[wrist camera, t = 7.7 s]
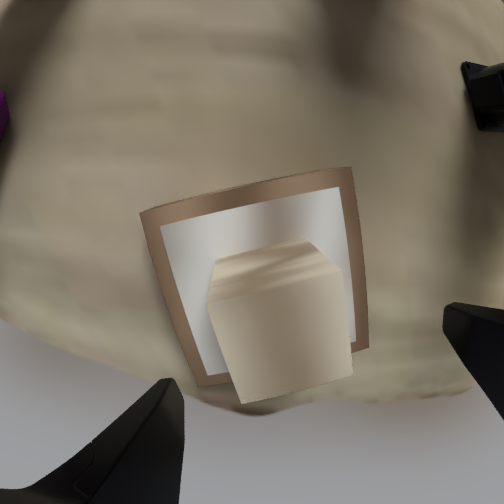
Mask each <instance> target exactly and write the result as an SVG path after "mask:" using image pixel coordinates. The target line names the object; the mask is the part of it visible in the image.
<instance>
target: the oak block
mask: <svg viewBox="0 0 504 504" xmlns="http://www.w3.org/2000/svg"><path fill="white" fill-rule="evenodd" d="M206 307H207V310H208V313H209V316H210V319H211V322H212V325H213V328H214V331H215V334H216V337H217V340H218V342H219V345H220V348H221V351H222V354H223V356H224V359H225V362H226V365H227V367H228V370H229V373H230V375H231V378H232V381H233V383H234V386H235V389H236V391H237V394H238V396H239V399H240V401H241V404H245V403H250V402H255V401H259V400H264V399H268V398H273V397H277V396H281V395H285V394H289V393H293V392H297V391H301V390H305V389H308V388H312V387H315V386H319V385H322V384H326V383H329V382H332V381H335V380H338V379H342V378H345V377H348V376H351V375H353V370H352V356H351V344H350V334H349V324H348V315H347V306H346V298H345V290H344V283H343V276H342V270H341V269H340V268H338V267H337V266H336V265H335V264H334V263H333V262H332V261H331V260H330V259H328V258H327V257H326V256H325V255H324V254H323V253H322V252H321V251H319V250H318V249H317V248H316V247H315V246H314V245H313V244H311V243H310V242H309V241H308V240H307V239H306V238H305V237H303V238H299V239H295V240H291V241H287V242H283V243H279V244H275V245H271V246H267V247H263V248H259V249H255V250H251V251H247V252H243V253H239V254H235V255H231V256H227V257H223V258H219V259H215V264H214V268H213V273H212V278H211V282H210V287H209V292H208V297H207V302H206Z"/></svg>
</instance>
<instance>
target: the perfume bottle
mask: <svg viewBox="0 0 504 504" xmlns="http://www.w3.org/2000/svg"><path fill="white" fill-rule="evenodd" d="M8 119H9V111H8V106H7V101H6V96H5V94H4V93H2V92H0V141H1V138H2V135H3V132H4V130H5V127H6V124H7V122H8Z"/></svg>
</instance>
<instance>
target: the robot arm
mask: <svg viewBox="0 0 504 504" xmlns="http://www.w3.org/2000/svg"><path fill="white" fill-rule="evenodd" d="M462 69H463V72H464V75H465V78H466V82H467V85H468V89H469V92H470V96H471V100H472V104H473V108H474V113H475V117H476V122H477V126H478V129H479V130H480V131H484V132H504V63H500V64H497V65H494V66H490V67H488V66H484V65H480V64H476V63H471V62H467V61H466V62H463V63H462ZM442 328H443V332H444V334H445V336H446V337H447V339H448V340H449V342H450V343H451V345H452V347H453V348H454V350H455V351H456V353H457V355H458V356H459V358H460V359H461V361H462V363H463V364H464V365H465V367H466V368H467V370H468V371H469V372H470V373H471V375H472V376H473V377H474V379H475V380H476V381H477V383H478V384H479V385H480V387H481V388H482V390H483V391H484V392H485V394H486V395H487V397H488V398H489V399H490V401H491V402H492V404H493V405H494V407H495V408H496V410H497V411H498V412H499V414H500V415H501V417H502V418H503V420H504V310H502V309H496V308H489V307H483V306H477V305H470V304H464V303H458V302H453V303H451V304H449V305H446V306H445V308H444V315H443V325H442ZM184 437H185V435H184V399H183V396H182V394H181V392H180V390H179V388H178V386H177V383H176V381H175V380H174V379H173V378H164V379H160V380H159V381H158V382H157V383H156V384H154V385H153V386H152V387H151V388H150V389H149V390H148V391H147V392H146V393H145V394H144V395H143V396H141V397H140V398H139V399H138V400H137V401H136V402H135V403H134V404H133V405H131V406H130V407H129V408H128V409H127V410H126V411H125V412H124V413H123V414H122V415H120V416H119V417H118V418H117V419H116V420H115V421H114V422H113V423H111V424H110V425H109V426H108V427H107V428H106V429H105V430H104V431H102V432H101V433H100V434H99V435H98V436H97V437H96V438H94V439H93V440H92V443H91V442H90V443H89V444H87V445H86V446H85V447H84V448H83V449H82V450H80V451H79V452H78V453H77V454H76V455H74V456H73V457H72V458H71V459H69V460H68V461H67V462H65V463H64V464H62V465H61V466H60V467H58V468H57V469H55V470H54V471H52V472H51V473H49V474H48V475H46V476H45V477H44V478H42V479H40V480H39V481H37V482H36V483H34V484H33V485H31V486H29V487H26V488H22V489H0V504H179V494H180V482H181V471H182V463H183V452H184V440H185V438H184Z"/></svg>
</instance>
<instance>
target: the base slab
mask: <svg viewBox="0 0 504 504" xmlns="http://www.w3.org/2000/svg"><path fill="white" fill-rule="evenodd" d="M139 214H140V218H141V221H142V225H143V229H144V233H145V236H146V240H147V243H148V247H149V250H150V254H151V257H152V261H153V264H154V267H155V271H156V274H157V277H158V280H159V283H160V286H161V289H162V293H163V296H164V299H165V302H166V304H167V307H168V310H169V313H170V316H171V319H172V322H173V324H174V327H175V330H176V333H177V335H178V338H179V341H180V343H181V346H182V349H183V351H184V354H185V356H186V359H187V362H188V364H189V367H190V369H191V371H192V374H193V376H194V379H195V381H196V384H197V386H198V387H203V386H210V385H216V384H223V383H229V382H233V381H232V378H231V375H230V373H229V370H228V367H227V365H226V362H225V359H224V356H223V354H222V351H221V348H220V345H219V342H218V340H217V337H216V334H215V331H214V328H213V325H212V322H211V319H210V316H209V313H208V310H207V307H206V302H207V297H208V292H209V287H210V282H211V278H212V273H213V268H214V264H215V259H219V258H223V257H227V256H231V255H235V254H239V253H243V252H247V251H251V250H255V249H259V248H263V247H267V246H271V245H275V244H279V243H283V242H287V241H291V240H295V239H299V238H303V237H305V238H306V239H307V240H308V241H309V242H310V243H311V244H313V245H314V246H315V247H316V248H317V249H318V250H319V251H321V252H322V253H323V254H324V255H325V256H326V257H327V258H328V259H330V260H331V261H332V262H333V263H334V264H335V265H336V266H337V267H338V268H340V269H341V270H342V276H343V283H344V290H345V298H346V306H347V315H348V324H349V334H350V344H351V353H354V352H357V351H360V350H363V349H366V348H369V330H368V306H367V290H366V277H365V265H364V255H363V246H362V237H361V229H360V221H359V214H358V207H357V200H356V194H355V188H354V182H353V176H352V170H351V167H340V168H330V169H324V170H319V171H313V172H307V173H302V174H296V175H291V176H286V177H281V178H276V179H271V180H266V181H261V182H256V183H252V184H247V185H242V186H238V187H233V188H229V189H225V190H220V191H216V192H212V193H208V194H203V195H199V196H195V197H191V198H187V199H183V200H179V201H176V202H172V203H168V204H164V205H161V206H157V207H153V208H151V209H148V210H146V211H143V212H141V213H139Z"/></svg>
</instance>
